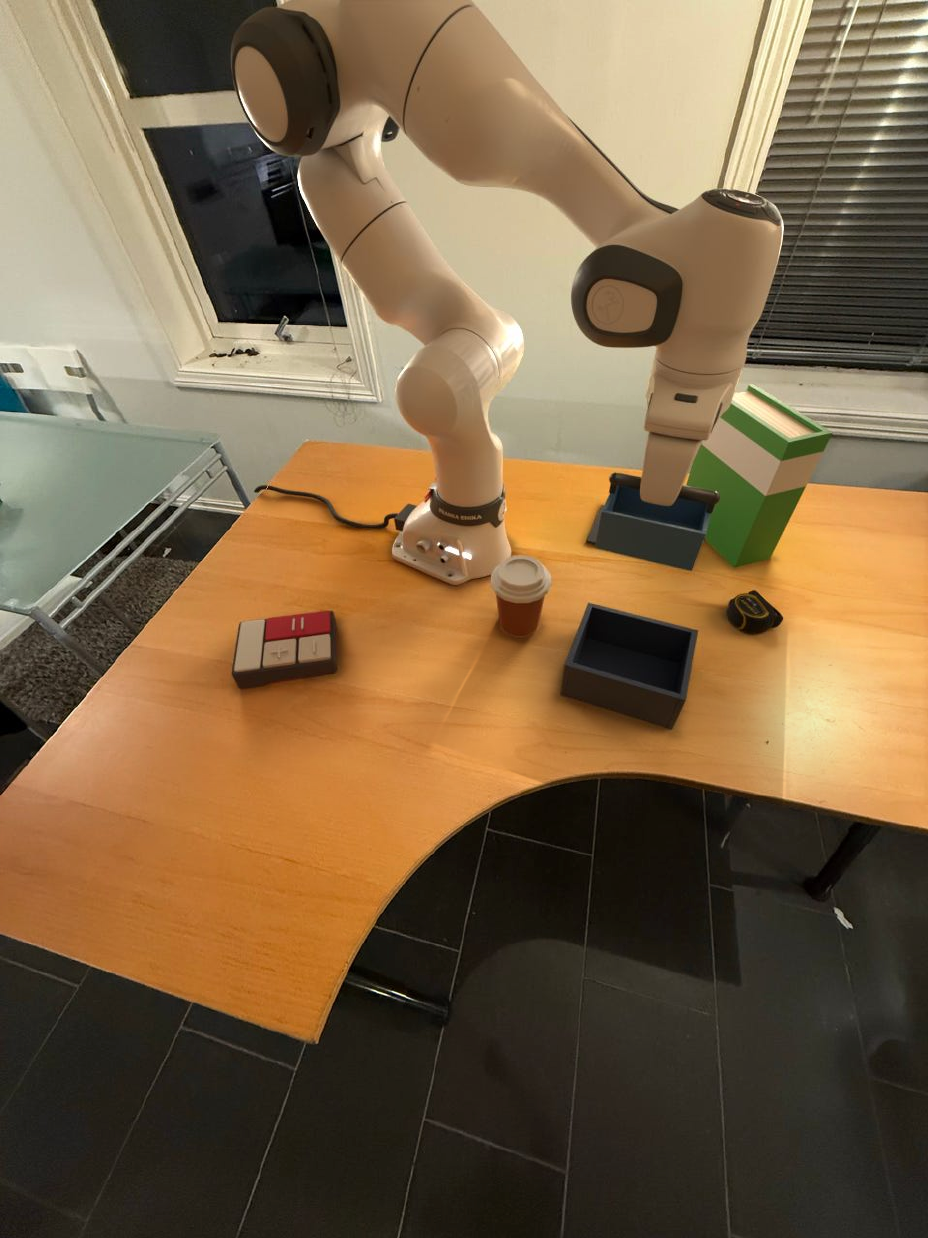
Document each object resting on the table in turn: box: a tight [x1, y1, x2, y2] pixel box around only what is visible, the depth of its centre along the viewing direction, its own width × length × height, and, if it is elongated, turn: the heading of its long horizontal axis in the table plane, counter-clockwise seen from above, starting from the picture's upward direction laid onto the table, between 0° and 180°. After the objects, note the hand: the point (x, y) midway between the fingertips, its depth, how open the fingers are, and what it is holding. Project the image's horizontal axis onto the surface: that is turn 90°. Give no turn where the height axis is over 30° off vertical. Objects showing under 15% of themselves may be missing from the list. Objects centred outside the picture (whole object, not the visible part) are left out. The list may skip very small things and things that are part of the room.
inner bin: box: [594, 471, 721, 572], centre depth 69 cm, size 14×10×9 cm
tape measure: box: [725, 589, 784, 635], centre depth 82 cm, size 7×7×4 cm
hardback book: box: [685, 383, 834, 569], centre depth 90 cm, size 18×7×24 cm, turn 17°
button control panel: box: [231, 610, 338, 690], centre depth 83 cm, size 11×4×15 cm
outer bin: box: [559, 602, 699, 731], centre depth 75 cm, size 16×13×8 cm
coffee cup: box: [490, 554, 552, 638], centre depth 81 cm, size 9×9×12 cm
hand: (660, 493), depth 67 cm, fingers closed on inner bin
